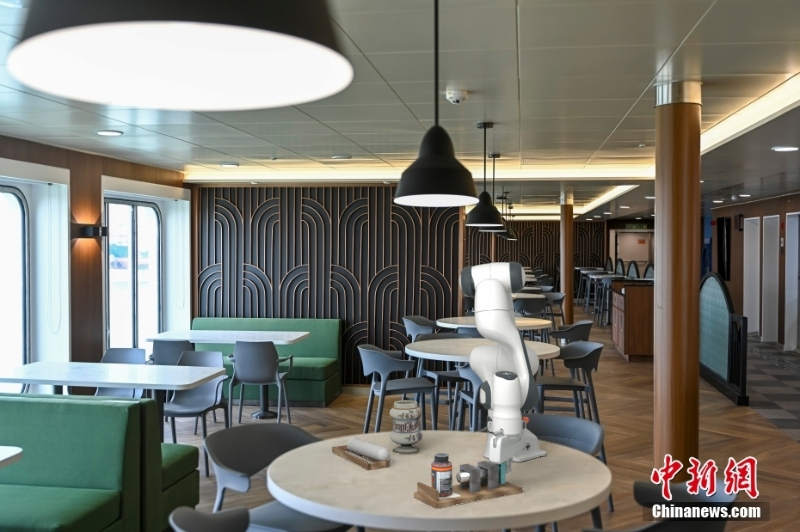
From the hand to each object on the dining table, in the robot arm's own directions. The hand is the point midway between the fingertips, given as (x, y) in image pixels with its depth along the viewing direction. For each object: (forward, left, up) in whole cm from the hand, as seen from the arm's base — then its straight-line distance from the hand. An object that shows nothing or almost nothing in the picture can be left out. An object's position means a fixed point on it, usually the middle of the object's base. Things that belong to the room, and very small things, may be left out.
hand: (507, 472), depth 221 cm
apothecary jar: (+3, -55, -5) cm, 55 cm away
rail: (+14, 0, -5) cm, 15 cm away
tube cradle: (+23, -53, -5) cm, 58 cm away
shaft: (+10, 0, -2) cm, 10 cm away
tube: (+22, -52, -2) cm, 57 cm away
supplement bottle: (+23, 0, -3) cm, 23 cm away
